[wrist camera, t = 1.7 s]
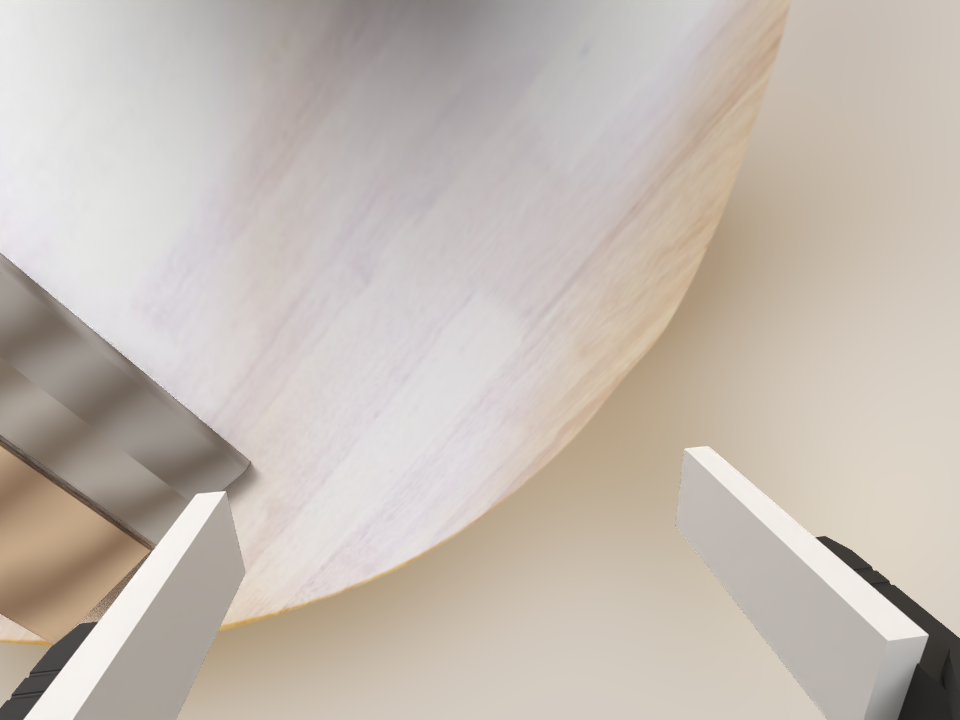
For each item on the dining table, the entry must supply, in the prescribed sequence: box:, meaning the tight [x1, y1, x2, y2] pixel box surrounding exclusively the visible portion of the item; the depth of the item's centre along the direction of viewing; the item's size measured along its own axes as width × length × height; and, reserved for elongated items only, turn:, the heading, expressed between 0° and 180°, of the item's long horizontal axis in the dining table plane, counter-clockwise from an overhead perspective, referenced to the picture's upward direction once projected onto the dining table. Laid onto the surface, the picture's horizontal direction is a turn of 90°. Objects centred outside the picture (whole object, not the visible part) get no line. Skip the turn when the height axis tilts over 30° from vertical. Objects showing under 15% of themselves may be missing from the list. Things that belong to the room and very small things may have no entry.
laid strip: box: [0, 253, 250, 545], centre depth 36 cm, size 22×10×2 cm, turn 39°
